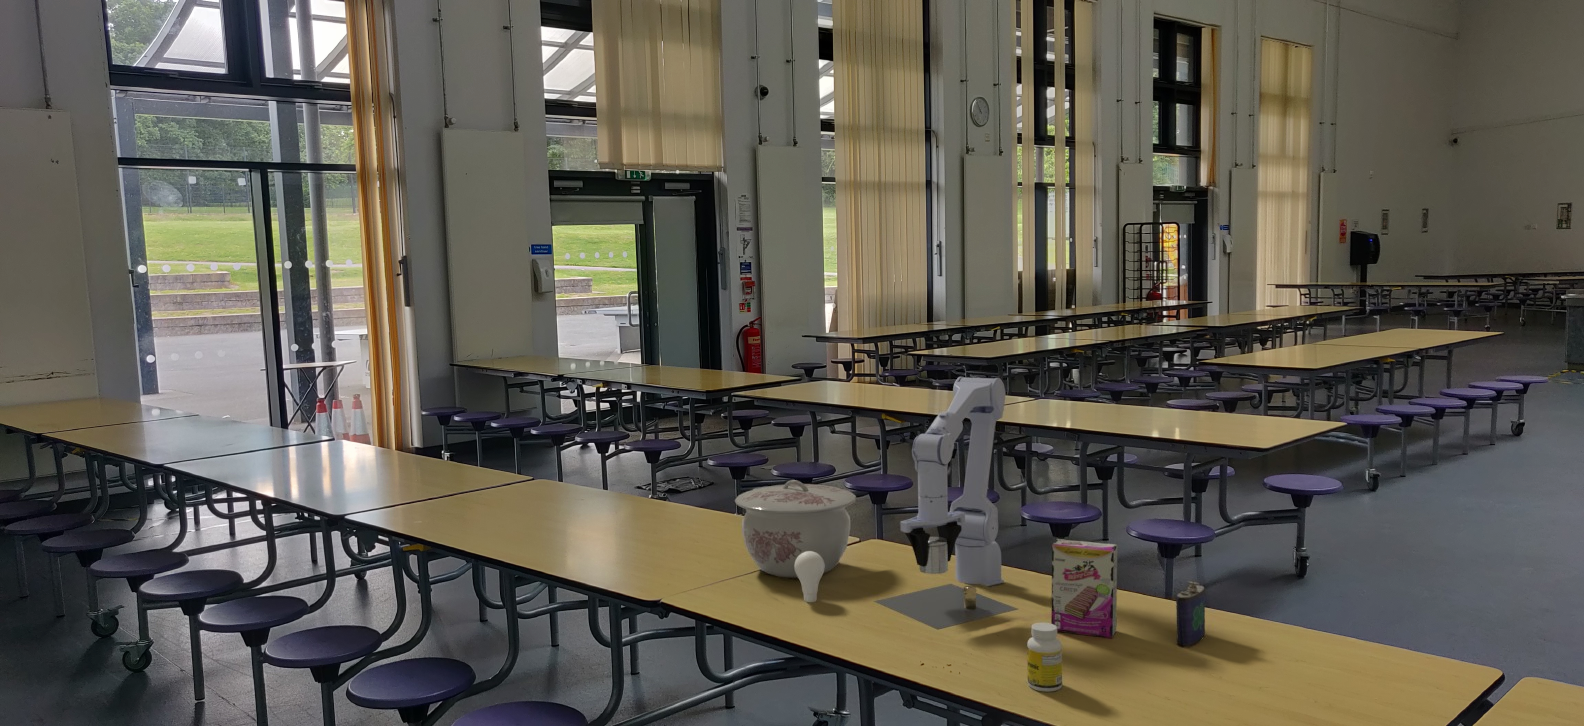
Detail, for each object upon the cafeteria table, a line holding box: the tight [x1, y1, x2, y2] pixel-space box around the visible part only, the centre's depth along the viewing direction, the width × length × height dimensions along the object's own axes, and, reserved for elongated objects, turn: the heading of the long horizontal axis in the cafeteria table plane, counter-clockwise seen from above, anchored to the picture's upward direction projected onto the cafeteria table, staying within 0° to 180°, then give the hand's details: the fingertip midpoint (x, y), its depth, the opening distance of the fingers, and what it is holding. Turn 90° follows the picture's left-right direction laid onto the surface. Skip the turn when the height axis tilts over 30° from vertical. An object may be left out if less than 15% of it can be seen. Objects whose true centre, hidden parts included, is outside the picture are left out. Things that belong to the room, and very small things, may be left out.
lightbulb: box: [794, 551, 825, 603], centre depth 207 cm, size 6×6×11 cm
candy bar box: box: [1050, 538, 1118, 639], centre depth 188 cm, size 11×5×16 cm, turn 65°
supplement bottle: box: [1026, 622, 1063, 693], centre depth 164 cm, size 5×5×10 cm
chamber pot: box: [734, 479, 857, 579], centre depth 232 cm, size 28×28×21 cm
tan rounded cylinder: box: [962, 585, 977, 609], centre depth 200 cm, size 3×2×4 cm
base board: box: [873, 583, 1018, 630], centre depth 202 cm, size 20×20×1 cm
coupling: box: [918, 536, 949, 575], centre depth 202 cm, size 5×5×6 cm
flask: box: [1175, 580, 1206, 649], centre depth 182 cm, size 9×3×11 cm, turn 138°
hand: (933, 562), depth 202 cm, fingers closed on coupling, 5 cm apart
